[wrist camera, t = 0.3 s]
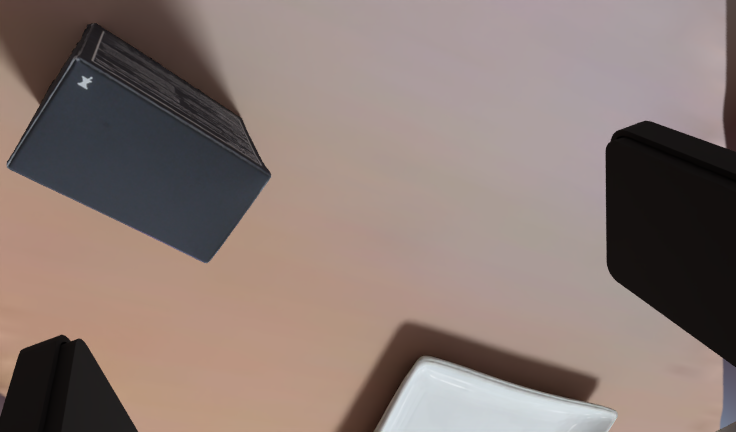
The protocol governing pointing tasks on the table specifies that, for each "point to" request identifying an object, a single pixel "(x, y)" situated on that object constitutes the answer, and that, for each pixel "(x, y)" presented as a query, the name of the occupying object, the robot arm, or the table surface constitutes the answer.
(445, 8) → the table surface
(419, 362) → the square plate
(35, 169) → the small box
